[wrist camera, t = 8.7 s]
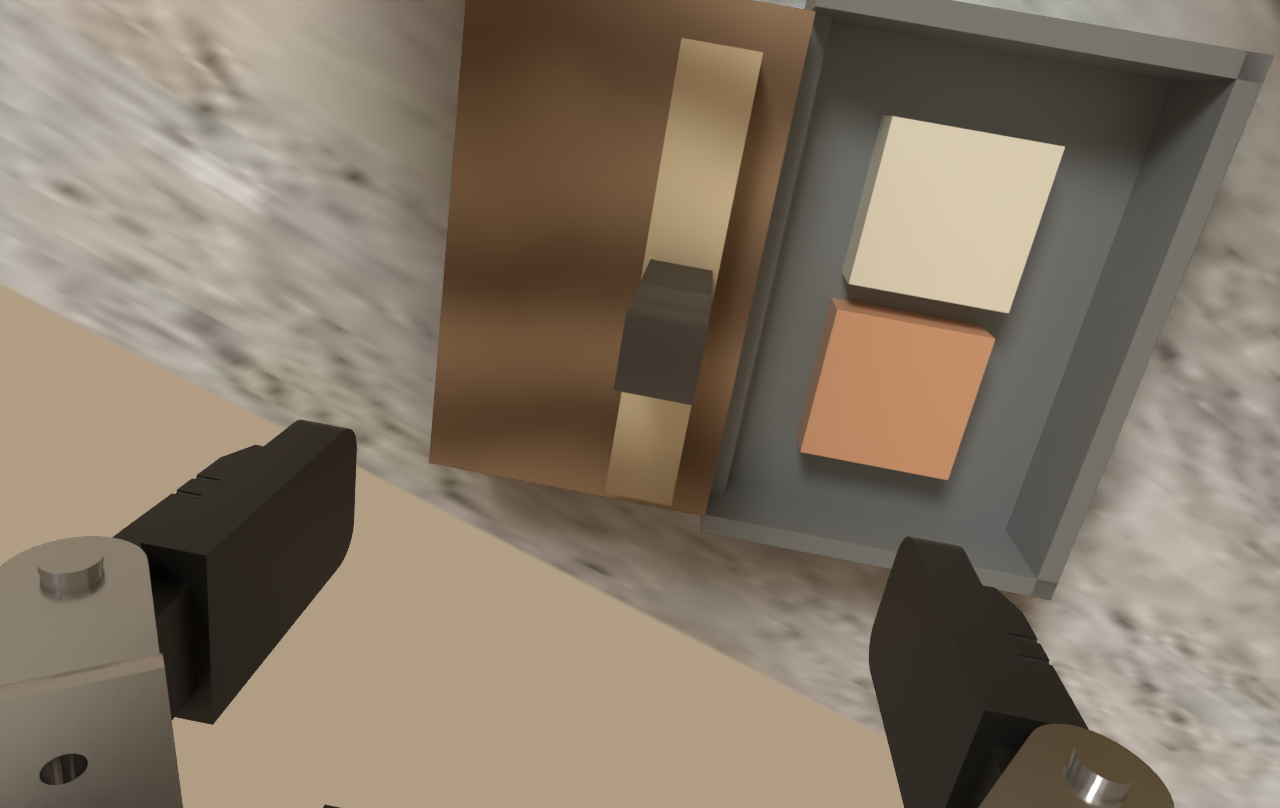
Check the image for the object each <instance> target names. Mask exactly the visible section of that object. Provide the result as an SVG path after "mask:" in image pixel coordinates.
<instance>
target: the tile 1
mask: <svg viewBox="0 0 1280 808" xmlns="http://www.w3.org/2000/svg"><path fill="white" fill-rule="evenodd" d="M994 342H995V338H994V337H993V336H992V335H991V334H990V333H989V332H987V331H986V330H985V329H984V328H983V327H982V326H981V325H978V324H972V323H967V322H961V321H956V320H951V319H945V318H940V317H934V316H929V315H924V314H918V313H913V312H907V311H902V310H897V309H891V308H886V307H880V306H875V305H870V304H864V303H859V302H853V301H848V300H842V299H837V298H832V297H831V300H830V304H829V307H828V311H827V315H826V319H825V323H824V327H823V331H822V335H821V339H820V343H819V347H818V350H817V354H816V358H815V362H814V366H813V370H812V374H811V378H810V382H809V386H808V390H807V393H806V397H805V401H804V405H803V409H802V413H801V417H800V421H799V425H798V429H797V433H796V434H797V439H798V443H799V448H800V452H803V453H808V454H813V455H819V456H824V457H829V458H834V459H840V460H845V461H850V462H855V463H860V464H866V465H871V466H876V467H881V468H887V469H892V470H897V471H902V472H908V473H913V474H918V475H923V476H928V477H934V478H939V479H944V480H948V478H949V475H950V473H951V470H952V467H953V464H954V461H955V458H956V455H957V452H958V449H959V446H960V443H961V440H962V437H963V434H964V431H965V428H966V425H967V422H968V419H969V416H970V413H971V410H972V407H973V404H974V401H975V398H976V395H977V392H978V389H979V386H980V383H981V380H982V377H983V374H984V371H985V368H986V365H987V363H988V360H989V357H990V354H991V351H992V348H993V345H994Z"/></svg>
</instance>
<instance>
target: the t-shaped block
mask: <svg viewBox="0 0 1280 808" xmlns="http://www.w3.org/2000/svg"><path fill="white" fill-rule="evenodd" d="M762 56H763V52H759V51H753V50H747V49H742V48H736V47H730V46H725V45H719V44H713V43H708V42H702V41H696V40H691V39H685V38H682V39H681V45H680V51H679V57H678V63H677V69H676V74H675V80H674V86H673V92H672V98H671V104H670V110H669V116H668V122H667V128H666V134H665V139H664V145H663V151H662V157H661V163H660V169H659V175H658V181H657V187H656V193H655V199H654V204H653V210H652V216H651V222H650V228H649V234H648V240H647V246H646V252H645V258H644V263H643V269H642V275H641V281H640V284H639V286H638V288H637V290H636V292H635V295H634V297H633V299H632V301H631V303H630V306H629V308H628V310H627V312H626V317H625V323H624V329H623V335H622V341H621V347H620V353H619V359H618V365H617V371H616V377H615V383H614V389H613V390H614V391H619V392H622V393H621V399H620V405H619V411H618V417H617V423H616V429H615V435H614V441H613V447H612V452H611V458H610V464H609V470H608V476H607V482H606V488H605V493H608V494H613V495H618V496H623V497H629V498H634V499H639V500H644V501H649V502H654V503H659V504H664V505H670V506H671V504H672V499H673V494H674V489H675V484H676V479H677V474H678V469H679V464H680V459H681V454H682V449H683V445H684V440H685V435H686V430H687V425H688V420H689V415H690V410H691V405H693V401H694V397H695V392H696V387H697V382H698V377H699V372H700V367H701V362H702V357H703V352H704V348H705V343H706V338H707V333H708V327H709V317H710V312H711V307H712V302H713V297H714V292H715V287H716V282H717V277H718V273H719V268H720V263H721V258H722V253H723V248H724V243H725V238H726V233H727V228H728V223H729V218H730V214H731V209H732V204H733V199H734V194H735V189H736V184H737V179H738V174H739V169H740V164H741V159H742V155H743V150H744V145H745V140H746V135H747V130H748V125H749V120H750V115H751V110H752V105H753V100H754V96H755V91H756V86H757V81H758V76H759V71H760V66H761V61H762Z"/></svg>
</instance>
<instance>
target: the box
mask: <svg viewBox="0 0 1280 808" xmlns="http://www.w3.org/2000/svg"><path fill="white" fill-rule="evenodd" d="M805 10H810V11H816V12H815V17H814V21H813V26H812V31H811V35H810V40H809V44H808V49H807V53H806V58H805V62H804V67H803V72H802V76H801V81H800V85H799V90H798V94H797V99H796V103H795V108H794V113H793V117H792V122H791V126H790V131H789V135H788V140H787V144H786V149H785V153H784V158H783V163H782V167H781V172H780V176H779V181H778V185H777V190H776V194H775V199H774V204H773V208H772V213H771V217H770V222H769V226H768V231H767V235H766V240H765V245H764V249H763V254H762V258H761V263H760V267H759V272H758V276H757V281H756V286H755V290H754V295H753V299H752V304H751V308H750V313H749V317H748V322H747V326H746V331H745V336H744V340H743V345H742V349H741V354H740V358H739V363H738V367H737V372H736V377H735V381H734V386H733V390H732V395H731V399H730V404H729V408H728V413H727V418H726V422H725V427H724V431H723V436H722V440H721V445H720V449H719V454H718V458H717V463H716V468H715V472H714V477H713V481H712V486H711V490H710V495H709V499H708V504H707V509H706V513H705V516H701V529H700V532H702V533H708V534H713V535H718V536H723V537H728V538H733V539H738V540H744V541H749V542H754V543H759V544H764V545H769V546H775V547H780V548H785V549H790V550H795V551H800V552H805V553H811V554H816V555H821V556H826V557H831V558H836V559H841V560H847V561H852V562H857V563H862V564H867V565H872V566H878V567H883V568H888V569H892V566H893V563H894V560H895V557H896V554H897V551H898V548H899V546H900V544H901V542H902V541H903V540H904V538H906V537H908V536H910V537H915V538H921V539H926V540H931V541H936V542H942V543H947V544H952V545H957V546H961V547H962V548H963V549H964V551H965V552H966V554H967V556H968V558H969V560H970V562H971V564H972V566H973V568H974V570H975V572H976V574H977V576H978V577H979V579H980V581H981V583H982V585H984V586H989V587H995V588H996V589H997V590H1001V591H1006V592H1011V593H1017V594H1022V595H1027V596H1032V597H1037V598H1042V599H1047V600H1051V598H1052V596H1053V593H1054V591H1055V588H1056V586H1057V583H1058V581H1059V579H1060V576H1061V574H1062V571H1063V569H1064V566H1065V564H1066V561H1067V559H1068V557H1069V554H1070V552H1071V549H1072V547H1073V544H1074V542H1075V540H1076V537H1077V535H1078V532H1079V530H1080V527H1081V525H1082V522H1083V520H1084V518H1085V515H1086V513H1087V510H1088V508H1089V505H1090V503H1091V500H1092V498H1093V496H1094V493H1095V491H1096V488H1097V486H1098V483H1099V481H1100V479H1101V476H1102V474H1103V471H1104V469H1105V466H1106V464H1107V461H1108V459H1109V457H1110V454H1111V452H1112V449H1113V447H1114V444H1115V442H1116V440H1117V437H1118V435H1119V432H1120V430H1121V427H1122V425H1123V422H1124V420H1125V418H1126V415H1127V413H1128V410H1129V408H1130V405H1131V403H1132V401H1133V398H1134V396H1135V393H1136V391H1137V388H1138V386H1139V383H1140V381H1141V379H1142V376H1143V374H1144V371H1145V369H1146V366H1147V364H1148V361H1149V359H1150V357H1151V354H1152V352H1153V349H1154V347H1155V344H1156V342H1157V340H1158V337H1159V335H1160V332H1161V330H1162V327H1163V325H1164V322H1165V320H1166V318H1167V315H1168V313H1169V310H1170V308H1171V305H1172V303H1173V301H1174V298H1175V296H1176V293H1177V291H1178V288H1179V286H1180V283H1181V281H1182V279H1183V276H1184V274H1185V271H1186V269H1187V266H1188V264H1189V261H1190V259H1191V257H1192V254H1193V252H1194V249H1195V247H1196V244H1197V242H1198V240H1199V237H1200V235H1201V232H1202V230H1203V227H1204V225H1205V222H1206V220H1207V218H1208V215H1209V213H1210V210H1211V208H1212V205H1213V203H1214V201H1215V198H1216V196H1217V193H1218V191H1219V188H1220V186H1221V183H1222V181H1223V179H1224V176H1225V174H1226V171H1227V169H1228V166H1229V164H1230V161H1231V159H1232V157H1233V154H1234V152H1235V149H1236V147H1237V144H1238V142H1239V140H1240V137H1241V135H1242V132H1243V130H1244V127H1245V125H1246V122H1247V120H1248V118H1249V115H1250V113H1251V110H1252V108H1253V105H1254V103H1255V101H1256V98H1257V96H1258V93H1259V91H1260V88H1261V86H1262V83H1263V81H1264V79H1265V76H1266V74H1267V71H1268V69H1269V66H1270V64H1271V61H1272V59H1273V57H1274V56H1272V55H1266V54H1260V53H1255V52H1249V51H1243V50H1237V49H1231V48H1225V47H1220V46H1214V45H1208V44H1202V43H1196V42H1191V41H1185V40H1179V39H1173V38H1167V37H1162V36H1156V35H1150V34H1144V33H1138V32H1132V31H1127V30H1121V29H1115V28H1109V27H1103V26H1098V25H1092V24H1086V23H1080V22H1074V21H1069V20H1063V19H1057V18H1051V17H1045V16H1039V15H1034V14H1028V13H1022V12H1016V11H1010V10H1005V9H999V8H993V7H987V6H981V5H976V4H970V3H964V2H958V1H952V0H807V2H806V7H805ZM882 115H888V116H895V117H901V118H906V119H912V120H918V121H923V122H929V123H935V124H940V125H946V126H951V127H957V128H963V129H968V130H974V131H980V132H985V133H991V134H997V135H1002V136H1008V137H1013V138H1019V139H1025V140H1030V141H1036V142H1042V143H1047V144H1053V145H1058V146H1064V147H1065V149H1064V152H1063V155H1062V158H1061V161H1060V164H1059V167H1058V169H1057V172H1056V175H1055V178H1054V181H1053V184H1052V187H1051V190H1050V193H1049V196H1048V199H1047V202H1046V205H1045V208H1044V211H1043V214H1042V217H1041V220H1040V223H1039V226H1038V229H1037V232H1036V235H1035V237H1034V240H1033V243H1032V246H1031V249H1030V252H1029V255H1028V258H1027V261H1026V264H1025V267H1024V270H1023V273H1022V276H1021V279H1020V282H1019V285H1018V288H1017V291H1016V294H1015V297H1014V300H1013V303H1012V305H1011V308H1010V311H1009V313H1004V312H999V311H993V310H988V309H982V308H977V307H971V306H966V305H961V304H955V303H950V302H944V301H939V300H933V299H928V298H923V297H917V296H912V295H906V294H901V293H895V292H890V291H885V290H879V289H874V288H868V287H863V286H857V285H852V284H849V283H848V282H847V280H846V279H845V277H844V276H843V274H842V270H843V266H844V262H845V258H846V254H847V251H848V247H849V243H850V239H851V235H852V231H853V227H854V223H855V220H856V216H857V212H858V208H859V204H860V200H861V196H862V192H863V188H864V185H865V181H866V177H867V173H868V169H869V165H870V161H871V157H872V154H873V150H874V146H875V142H876V138H877V134H878V130H879V126H880V122H881V119H882ZM831 297H832V298H837V299H842V300H848V301H853V302H859V303H864V304H870V305H875V306H880V307H886V308H891V309H897V310H902V311H907V312H913V313H918V314H924V315H929V316H934V317H940V318H945V319H951V320H956V321H961V322H967V323H972V324H978V325H981V326H982V327H983V328H984V329H985V330H986V331H987V332H989V333H990V334H991V335H992V336H993V337H994V338H995V342H994V345H993V348H992V351H991V354H990V357H989V360H988V363H987V365H986V368H985V371H984V374H983V377H982V380H981V383H980V386H979V389H978V392H977V395H976V398H975V401H974V404H973V407H972V410H971V413H970V416H969V419H968V422H967V425H966V428H965V431H964V434H963V437H962V440H961V443H960V446H959V449H958V452H957V455H956V458H955V461H954V464H953V467H952V470H951V473H950V475H949V478H948V480H944V479H939V478H934V477H928V476H923V475H918V474H913V473H908V472H902V471H897V470H892V469H887V468H881V467H876V466H871V465H866V464H860V463H855V462H850V461H845V460H840V459H834V458H829V457H824V456H819V455H813V454H808V453H803V452H800V448H799V443H798V439H797V434H796V433H797V429H798V425H799V421H800V417H801V413H802V409H803V405H804V401H805V397H806V393H807V390H808V386H809V382H810V378H811V374H812V370H813V366H814V362H815V358H816V354H817V350H818V347H819V343H820V339H821V335H822V331H823V327H824V323H825V319H826V315H827V311H828V307H829V304H830V300H831Z"/></svg>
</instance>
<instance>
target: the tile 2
mask: <svg viewBox="0 0 1280 808" xmlns="http://www.w3.org/2000/svg"><path fill="white" fill-rule="evenodd" d="M1064 149H1065V147H1064V146H1058V145H1053V144H1047V143H1042V142H1036V141H1030V140H1025V139H1019V138H1013V137H1008V136H1002V135H997V134H991V133H985V132H980V131H974V130H968V129H963V128H957V127H951V126H946V125H940V124H935V123H929V122H923V121H918V120H912V119H906V118H901V117H895V116H888V115H882V119H881V122H880V126H879V130H878V134H877V138H876V142H875V146H874V150H873V154H872V157H871V161H870V165H869V169H868V173H867V177H866V181H865V185H864V188H863V192H862V196H861V200H860V204H859V208H858V212H857V216H856V220H855V223H854V227H853V231H852V235H851V239H850V243H849V247H848V251H847V254H846V258H845V262H844V266H843V270H842V274H843V276H844V277H845V279H846V280H847V282H848V283H849V284H852V285H857V286H863V287H868V288H874V289H879V290H885V291H890V292H895V293H901V294H906V295H912V296H917V297H923V298H928V299H933V300H939V301H944V302H950V303H955V304H961V305H966V306H971V307H977V308H982V309H988V310H993V311H999V312H1004V313H1009V311H1010V308H1011V305H1012V303H1013V300H1014V297H1015V294H1016V291H1017V288H1018V285H1019V282H1020V279H1021V276H1022V273H1023V270H1024V267H1025V264H1026V261H1027V258H1028V255H1029V252H1030V249H1031V246H1032V243H1033V240H1034V237H1035V235H1036V232H1037V229H1038V226H1039V223H1040V220H1041V217H1042V214H1043V211H1044V208H1045V205H1046V202H1047V199H1048V196H1049V193H1050V190H1051V187H1052V184H1053V181H1054V178H1055V175H1056V172H1057V169H1058V167H1059V164H1060V161H1061V158H1062V155H1063V152H1064Z"/></svg>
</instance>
